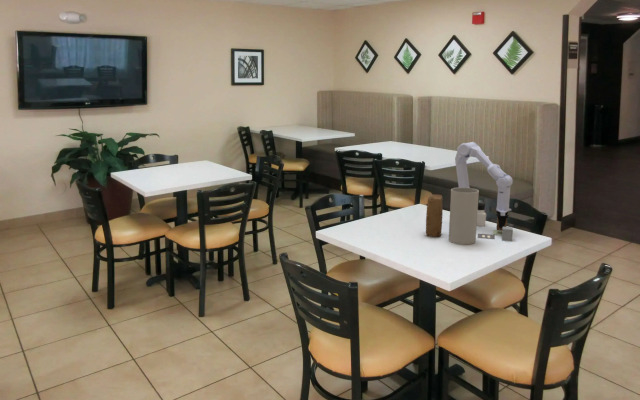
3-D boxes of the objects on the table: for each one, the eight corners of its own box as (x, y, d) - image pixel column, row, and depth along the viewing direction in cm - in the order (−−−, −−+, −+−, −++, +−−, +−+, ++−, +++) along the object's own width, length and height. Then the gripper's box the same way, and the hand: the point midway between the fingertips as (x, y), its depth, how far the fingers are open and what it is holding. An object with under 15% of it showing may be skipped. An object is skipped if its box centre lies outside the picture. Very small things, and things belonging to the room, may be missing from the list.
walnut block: (496, 230, 266) (497, 218, 265) (496, 228, 270) (497, 216, 269) (506, 231, 265) (507, 219, 264) (505, 228, 269) (506, 217, 268)
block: (440, 238, 261) (442, 198, 257) (424, 236, 263) (426, 197, 259) (442, 232, 271) (444, 193, 267) (427, 231, 273) (429, 192, 269)
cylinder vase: (456, 246, 248) (459, 193, 243) (443, 238, 260) (446, 188, 255) (480, 244, 252) (484, 192, 246) (466, 236, 263) (469, 186, 258)
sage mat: (493, 235, 266) (493, 234, 266) (492, 231, 273) (493, 230, 273) (508, 236, 264) (509, 235, 264) (508, 232, 271) (508, 231, 271)
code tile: (477, 238, 260) (477, 237, 260) (477, 234, 268) (477, 233, 268) (494, 239, 258) (494, 239, 258) (494, 235, 265) (494, 234, 265)
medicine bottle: (482, 223, 288) (484, 201, 285) (484, 227, 281) (487, 205, 278) (468, 222, 289) (471, 201, 286) (471, 226, 282) (473, 204, 279)
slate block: (501, 241, 256) (502, 229, 255) (501, 238, 261) (502, 226, 259) (511, 241, 255) (512, 229, 254) (511, 239, 259) (512, 227, 258)
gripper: (512, 203, 257) (510, 230, 260) (511, 197, 270) (509, 223, 273) (497, 202, 259) (495, 229, 262) (496, 196, 272) (494, 222, 275)
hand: (501, 226), depth 267 cm, fingers closed on walnut block, 4 cm apart
